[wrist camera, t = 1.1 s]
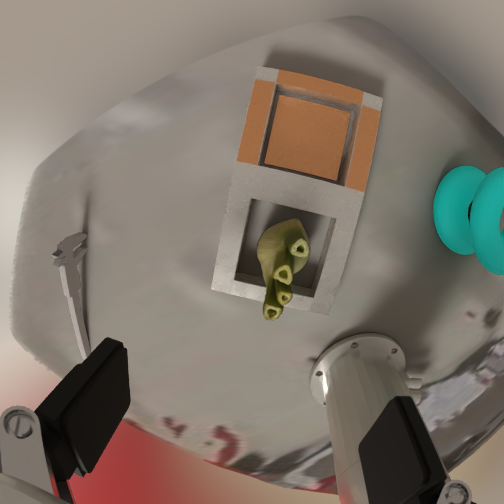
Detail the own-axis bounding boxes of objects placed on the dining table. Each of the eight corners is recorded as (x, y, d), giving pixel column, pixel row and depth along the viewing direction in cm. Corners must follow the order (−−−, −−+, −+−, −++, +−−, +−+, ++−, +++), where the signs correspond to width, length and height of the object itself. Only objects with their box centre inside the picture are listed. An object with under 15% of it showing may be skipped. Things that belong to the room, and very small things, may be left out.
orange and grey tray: (374, 104, 24) (383, 97, 22) (324, 304, 30) (328, 316, 28) (259, 74, 25) (257, 65, 22) (216, 280, 30) (210, 290, 28)
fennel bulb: (289, 206, 28) (297, 228, 16) (321, 243, 29) (348, 287, 17) (246, 244, 29) (225, 289, 18) (278, 279, 30) (277, 341, 18)
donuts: (522, 291, 18) (467, 258, 18) (472, 262, 27) (416, 232, 27) (551, 199, 15) (500, 145, 15) (497, 189, 25) (443, 150, 24)
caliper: (83, 230, 31) (50, 242, 25) (89, 232, 31) (57, 244, 25) (87, 359, 36) (66, 382, 30) (93, 362, 36) (72, 385, 30)
